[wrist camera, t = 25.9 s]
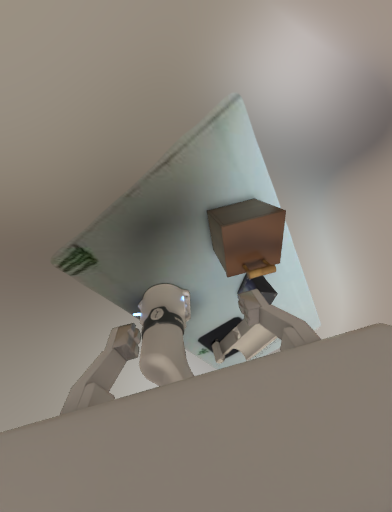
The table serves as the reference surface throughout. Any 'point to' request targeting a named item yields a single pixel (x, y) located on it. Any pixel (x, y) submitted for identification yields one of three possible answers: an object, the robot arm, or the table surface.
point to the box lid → (253, 244)
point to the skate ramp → (244, 341)
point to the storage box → (234, 220)
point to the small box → (259, 287)
